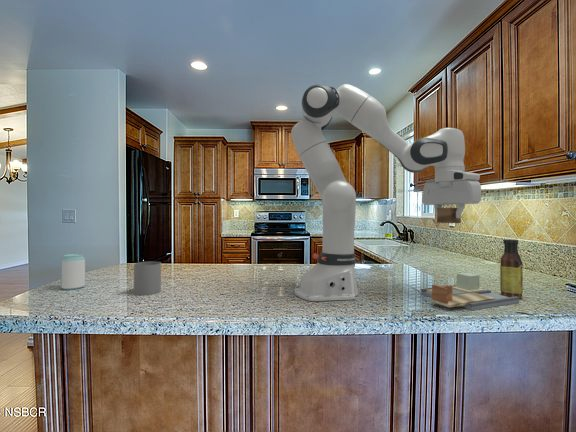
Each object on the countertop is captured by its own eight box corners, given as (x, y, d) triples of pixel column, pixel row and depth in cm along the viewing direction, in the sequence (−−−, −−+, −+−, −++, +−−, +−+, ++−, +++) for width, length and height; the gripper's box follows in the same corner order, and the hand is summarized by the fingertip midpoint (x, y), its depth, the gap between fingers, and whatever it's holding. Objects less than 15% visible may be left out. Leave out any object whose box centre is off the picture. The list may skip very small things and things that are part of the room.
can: (82, 284, 113) (82, 252, 113) (87, 288, 108) (87, 254, 108) (59, 287, 108) (59, 254, 108) (63, 291, 103) (63, 256, 103)
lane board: (471, 310, 88) (471, 304, 88) (420, 294, 106) (420, 288, 106) (519, 302, 97) (519, 297, 97) (464, 288, 114) (464, 284, 114)
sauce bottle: (526, 300, 100) (527, 240, 100) (505, 298, 101) (506, 239, 101) (515, 295, 106) (516, 238, 106) (496, 293, 108) (497, 238, 107)
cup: (128, 293, 102) (128, 264, 102) (148, 288, 109) (148, 260, 109) (147, 296, 99) (147, 266, 98) (165, 290, 106) (166, 262, 106)
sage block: (469, 290, 105) (469, 276, 105) (456, 287, 109) (456, 273, 109) (479, 289, 106) (479, 275, 106) (466, 286, 111) (466, 272, 111)
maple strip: (448, 307, 87) (449, 289, 87) (429, 300, 93) (429, 284, 93) (495, 300, 95) (495, 284, 95) (473, 295, 101) (474, 279, 101)
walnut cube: (449, 223, 98) (450, 207, 98) (437, 222, 103) (437, 207, 103) (460, 223, 100) (461, 208, 100) (447, 222, 105) (447, 208, 105)
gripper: (418, 179, 110) (417, 217, 110) (471, 172, 91) (470, 218, 91) (431, 180, 112) (430, 217, 112) (485, 174, 93) (484, 218, 94)
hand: (448, 218), depth 102 cm, fingers closed on walnut cube, 5 cm apart
